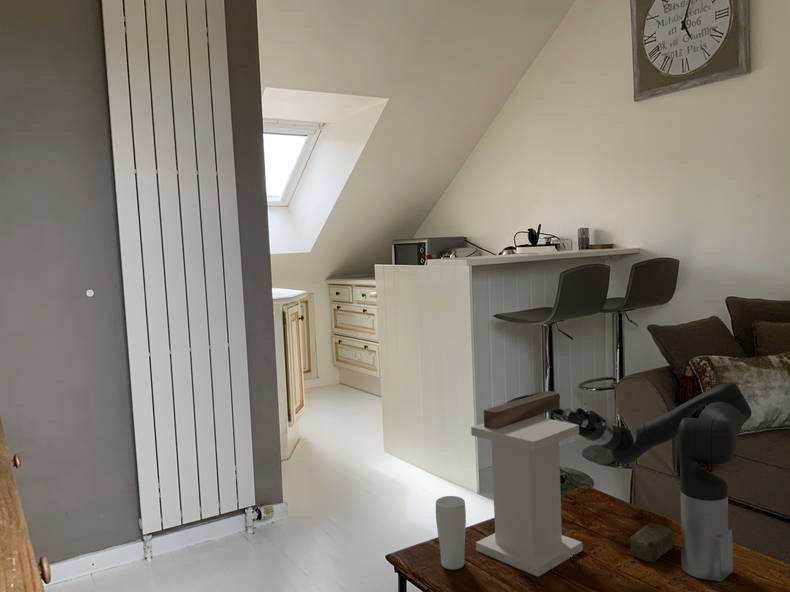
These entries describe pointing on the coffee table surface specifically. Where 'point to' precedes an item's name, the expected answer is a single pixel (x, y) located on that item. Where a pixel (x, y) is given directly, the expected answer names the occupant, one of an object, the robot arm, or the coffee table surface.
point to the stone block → (651, 542)
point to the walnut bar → (521, 409)
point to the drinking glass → (451, 530)
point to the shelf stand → (528, 495)
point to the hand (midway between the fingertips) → (563, 408)
